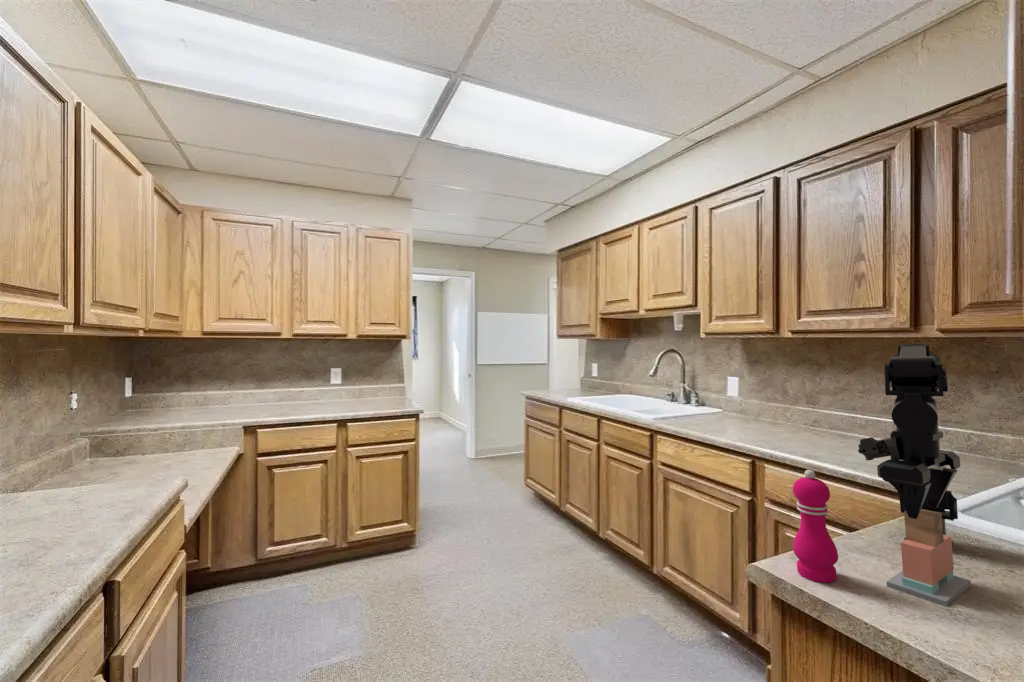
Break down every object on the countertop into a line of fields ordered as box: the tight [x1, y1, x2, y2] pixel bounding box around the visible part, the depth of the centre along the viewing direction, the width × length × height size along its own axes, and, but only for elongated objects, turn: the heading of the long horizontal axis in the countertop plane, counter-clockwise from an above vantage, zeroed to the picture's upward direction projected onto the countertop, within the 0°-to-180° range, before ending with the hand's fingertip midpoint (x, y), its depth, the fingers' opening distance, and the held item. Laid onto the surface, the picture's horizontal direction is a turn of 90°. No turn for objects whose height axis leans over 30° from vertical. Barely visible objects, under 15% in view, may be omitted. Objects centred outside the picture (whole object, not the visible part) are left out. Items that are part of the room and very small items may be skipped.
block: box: [903, 509, 944, 547], centre depth 80 cm, size 4×4×5 cm
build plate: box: [886, 570, 972, 607], centre depth 80 cm, size 12×8×2 cm, turn 120°
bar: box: [900, 534, 955, 586], centre depth 80 cm, size 10×4×6 cm, turn 120°
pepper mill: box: [792, 469, 839, 584], centre depth 85 cm, size 7×7×20 cm
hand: (923, 512), depth 80 cm, fingers open, 9 cm apart
